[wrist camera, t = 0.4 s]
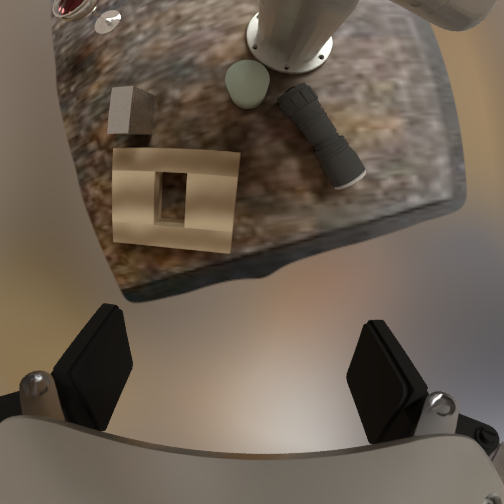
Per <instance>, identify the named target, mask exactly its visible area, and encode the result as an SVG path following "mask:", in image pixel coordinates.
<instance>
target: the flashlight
mask: <svg viewBox="0 0 504 504" xmlns="http://www.w3.org/2000/svg"><path fill="white" fill-rule="evenodd" d="M317 99H318V96H317V95H316V94H315V92H314V91H313V90H312V88H311V87H310V86H307V85H306V84H305V83H301V84H299V85H297V86H296V87H292V88H290V89H288V90H287V91H286V92H285V94H283V95H282V96H280V97H279V98H278V99H277V101H278V102H279V103H280V104H279V107H280V108H281V110H282V111H283V112H284V114H285V115H286V116H287V117H290V118H291V119H292V121H293V122H296V124H297V127H299V130H301V131H302V132H303V134H304V135H305V137H306V138H307V139H308V141H309V142H310V144H311V145H314V148H315V150H316V151H315V152H314V155H316V157H317V158H318V160H319V161H320V162H321V164H322V167H323V170H324V173H325V174H326V176H327V177H328V179H329V180H330V182H331V184H332V185H333V187H334V188H335V189H336V190H340V189H344V188H346V187H349V186H351V185H353V184H354V183H356V182H357V181H359V180H360V179H361V178H362V177H363V176H364V175H365V174H366V169H365V167H364V166H363V164H362V162H361V161H360V159H359V157H358V156H357V154H356V153H355V152H354V151H353V150H352V148H351V147H350V146H349V145H348V143H347V142H346V139H344V136H342V135H341V136H339V135H338V133H336V131H337V130H336V129H335V127H334V125H333V124H332V122H331V121H330V120H329V118H328V117H327V113H326V112H324V109H322V108H321V107H320V106H321V104H320V103H319V101H318V100H317Z"/></svg>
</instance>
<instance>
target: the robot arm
mask: <svg viewBox="0 0 504 504" xmlns="http://www.w3.org/2000/svg"><path fill="white" fill-rule="evenodd" d="M358 1H359V0H260V2H259V12H257V13H256V14H255V15H254V16H253V18H252V19H251V20H250V22H249V24H248V27H247V32H246V38H247V44H248V47H249V50H250V51H251V53H252V55H253V56H254V57H255V58H256V59H257V60H258V61H259V62H260V63H261V64H263V65H264V66H266V67H268V68H269V69H271V70H274V71H277V72H280V73H285V74H303V73H307V72H310V71H312V70H314V69H316V68H318V67H319V66H320V65H322V64H323V63H324V62H325V61H326V60H327V58H328V56H329V55H330V53H331V50H332V43H333V40H332V35H333V34H334V33H335V32H336V30H337V29H338V28H339V27H340V26H341V24H342V23H343V22H344V21H345V20H346V18H347V17H348V16H349V15H350V14H351V12H352V11H353V10H354V9H355V7H356V5H357V4H358ZM390 1H392V2H394V3H396V4H398V5H400V6H402V7H404V8H405V9H407V10H409V11H411V12H413V13H414V14H416V15H418V16H420V17H422V18H423V19H425V20H427V21H429V22H430V23H433V24H434V25H436V26H438V27H441V28H443V29H446V30H450V31H465V30H468V29H471V28H473V27H475V26H476V25H478V24H479V23H480V22H481V21H483V20H484V19H485V17H486V16H487V15H488V14H489V13H490V12H491V10H492V9H493V8H494V6H495V5H496V3H497V2H498V0H390ZM253 48H257V49H253ZM319 57H320V58H321V59H322V60H321V59H319ZM285 68H288V70H285ZM132 367H133V361H132V356H131V352H130V347H129V342H128V338H127V333H126V327H125V322H124V316H123V311H122V310H121V309H119V307H118V306H117V305H113V304H106V303H104V304H102V305H101V307H100V308H99V309H98V310H97V311H96V313H95V314H94V315H93V316H92V318H91V319H90V320H89V322H88V323H87V324H86V325H85V326H84V328H83V329H82V330H81V332H80V333H79V334H78V335H77V337H76V338H75V340H74V341H73V342H72V343H71V345H70V346H69V347H68V349H67V350H66V351H65V353H64V354H63V355H62V357H61V358H60V360H59V361H58V362H57V364H56V365H55V366H54V368H53V369H54V370H53V371H52V373H51V374H49V373H48V372H46V371H33V372H30V373H28V374H27V375H25V377H23V378H22V380H21V382H20V384H19V391H17V392H14V393H11V394H7V395H4V396H0V504H504V442H502V443H501V444H500V443H499V436H498V433H497V432H496V430H495V429H494V428H493V427H491V426H489V425H487V424H484V423H482V422H479V421H477V420H474V419H472V418H469V417H467V416H464V415H461V414H459V405H458V403H457V401H456V400H455V399H454V397H452V396H451V395H450V394H448V393H446V392H442V391H435V392H432V393H430V394H429V393H428V392H427V389H428V387H427V385H426V384H425V382H424V380H423V379H422V377H421V376H420V374H419V372H418V371H417V369H416V368H415V366H414V365H413V363H412V362H411V360H410V359H409V357H408V356H407V354H406V353H405V351H404V349H403V348H402V346H401V345H400V344H399V342H398V341H397V339H396V338H395V336H394V335H393V333H392V332H391V330H390V329H389V327H388V326H387V325H386V323H385V322H384V321H383V320H369V321H368V322H367V324H364V325H363V328H362V331H361V334H360V337H359V340H358V343H357V346H356V349H355V352H354V355H353V358H352V361H351V363H350V366H349V369H348V372H347V376H346V378H347V383H348V386H349V388H350V391H351V394H352V396H353V399H354V402H355V405H356V408H357V410H358V413H359V416H360V419H361V422H362V424H363V427H364V430H365V433H366V436H367V439H368V442H369V443H370V444H372V445H366V446H361V447H353V448H347V449H339V450H331V451H320V452H308V453H289V454H242V453H223V452H211V451H201V450H192V449H183V448H177V447H169V446H163V445H158V444H153V443H148V442H143V441H138V440H134V439H129V438H125V437H120V436H117V435H113V434H109V433H105V432H101V431H105V430H106V428H107V426H108V424H109V421H110V419H111V416H112V414H113V412H114V409H115V407H116V404H117V402H118V400H119V397H120V395H121V393H122V390H123V388H124V386H125V384H126V381H127V379H128V377H129V375H130V372H131V370H132Z"/></svg>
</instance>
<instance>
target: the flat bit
mask: <svg viewBox="0 0 504 504" xmlns="http://www.w3.org/2000/svg"><path fill="white" fill-rule="evenodd" d="M155 103H156V96H155V95H152V94H150V93H148V92H146V91H144V90H142V89H139V88H137V87H135V86H126V87H115V88H112V92H111V100H110V109H109V119H108V130H107V134H131V135H152V131H153V121H154V111H155Z"/></svg>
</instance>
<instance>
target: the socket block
mask: <svg viewBox="0 0 504 504" xmlns="http://www.w3.org/2000/svg"><path fill="white" fill-rule="evenodd" d="M240 157H241V153H240V152H229V151H217V150H202V149H184V148H151V147H124V148H113V164H112V222H113V242H120V243H130V244H139V245H149V246H159V247H168V248H178V249H188V250H198V251H208V252H218V253H228V254H230V252H231V246H232V237H233V227H234V216H235V206H236V196H237V186H238V176H239V167H240ZM163 172H177V173H187V186H186V203H185V220H182V219H171V218H161V215H162V185H163Z"/></svg>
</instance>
